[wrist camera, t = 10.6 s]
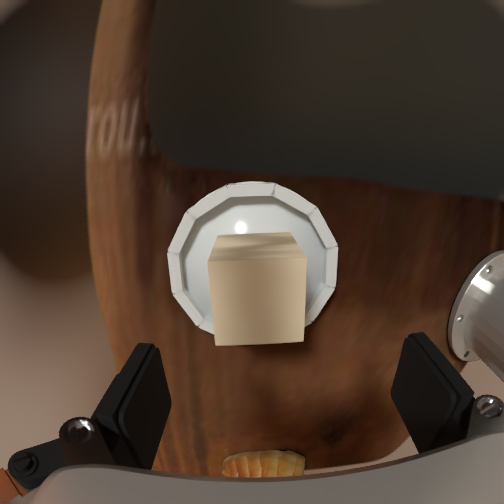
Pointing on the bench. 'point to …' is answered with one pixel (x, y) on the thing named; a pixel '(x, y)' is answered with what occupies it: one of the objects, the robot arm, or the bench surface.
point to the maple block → (257, 288)
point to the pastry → (264, 464)
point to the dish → (245, 222)
